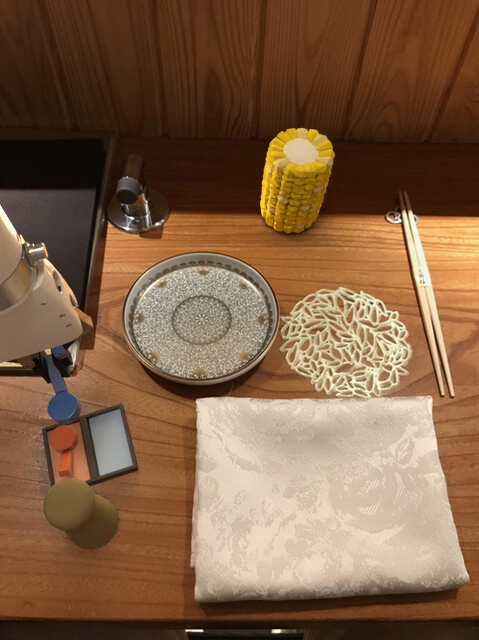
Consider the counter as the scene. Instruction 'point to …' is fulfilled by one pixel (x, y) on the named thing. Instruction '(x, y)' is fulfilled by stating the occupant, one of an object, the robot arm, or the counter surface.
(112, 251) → the counter surface
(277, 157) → the food
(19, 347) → the robot arm
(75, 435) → the terracotta spoon
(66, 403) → the blue spoon
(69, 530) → the olive waisted cylinder
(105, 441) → the sorting tray
